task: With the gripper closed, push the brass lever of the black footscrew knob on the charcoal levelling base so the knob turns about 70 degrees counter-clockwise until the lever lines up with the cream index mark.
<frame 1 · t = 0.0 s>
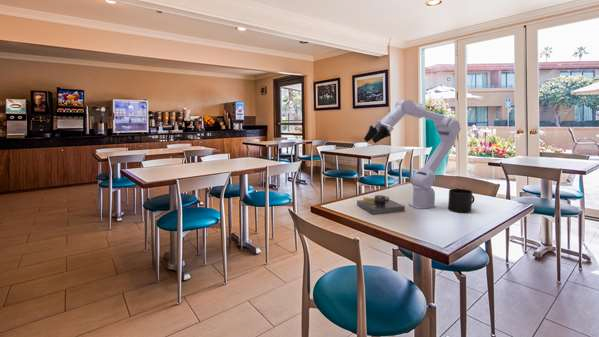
hand: (369, 140, 141), 32 cm above the table, tool tilted 50°, fingers open, 7 cm apart
level knob: (374, 199, 151), point 4 cm above the table, hinge at 0.0°
tribrach base: (379, 208, 151), on the table
mug: (461, 210, 146), on the table
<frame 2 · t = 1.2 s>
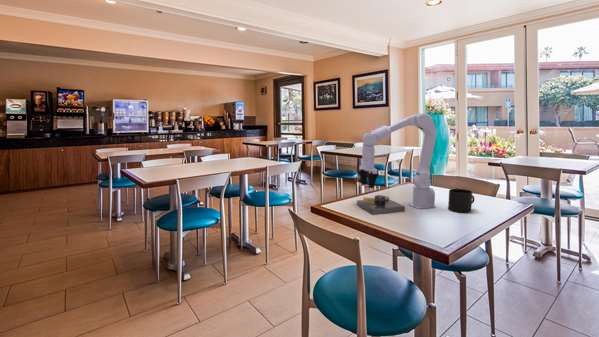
hand: (367, 186, 155), 10 cm above the table, tool pointing down, fingers open, 7 cm apart
nothing on the table moved.
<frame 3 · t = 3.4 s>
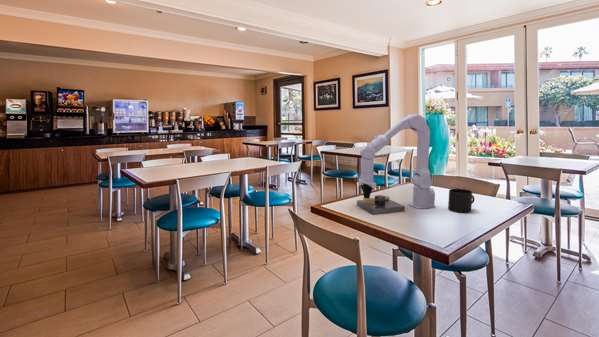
hand: (366, 199, 153), 4 cm above the table, tool pointing down, fingers closed, pressing on level knob
level knob: (374, 199, 151), point 4 cm above the table, hinge at 3.1°, touching gripper
everything else where it was.
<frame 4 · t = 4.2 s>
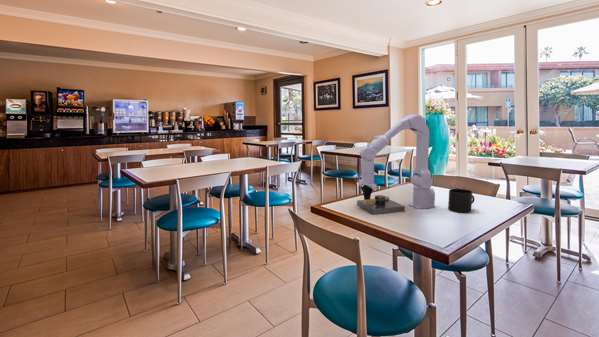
hand: (367, 201, 150), 4 cm above the table, tool pointing down, fingers closed, pressing on level knob
level knob: (374, 199, 150), point 4 cm above the table, hinge at 26.1°, touching gripper
everything else where it was.
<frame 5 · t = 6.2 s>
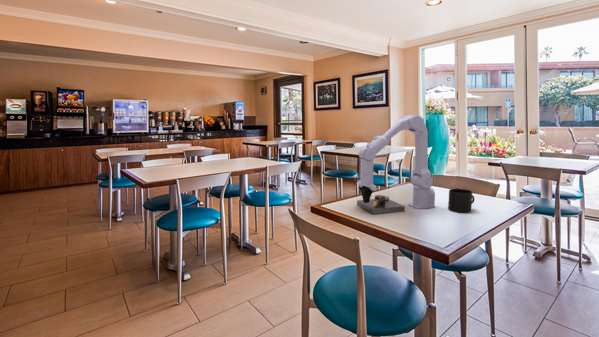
hand: (366, 202, 148), 4 cm above the table, tool pointing down, fingers closed
level knob: (378, 200, 148), point 4 cm above the table, hinge at 73.1°
everything else where it was.
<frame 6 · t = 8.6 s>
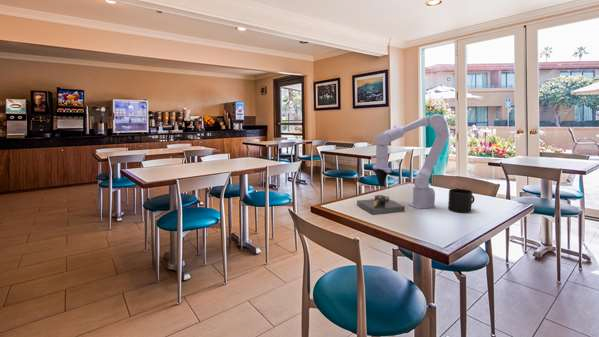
hand: (381, 184, 158), 9 cm above the table, tool pointing down, fingers closed
level knob: (378, 200, 148), point 4 cm above the table, hinge at 73.7°
everything else where it was.
at the end: level knob at +74° (first picture: +0°); mug moved 0.2 cm from its start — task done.
